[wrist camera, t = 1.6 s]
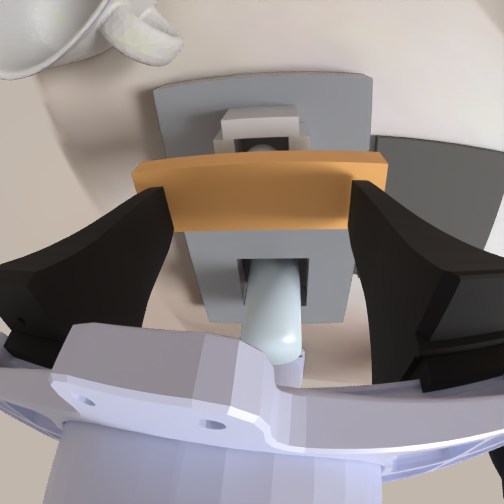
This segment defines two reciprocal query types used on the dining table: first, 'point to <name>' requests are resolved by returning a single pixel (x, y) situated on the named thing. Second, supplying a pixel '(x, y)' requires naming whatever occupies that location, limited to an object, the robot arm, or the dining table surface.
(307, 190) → the plunger
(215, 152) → the housing
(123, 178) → the dining table surface
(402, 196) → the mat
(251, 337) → the cylinder
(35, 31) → the teacup
